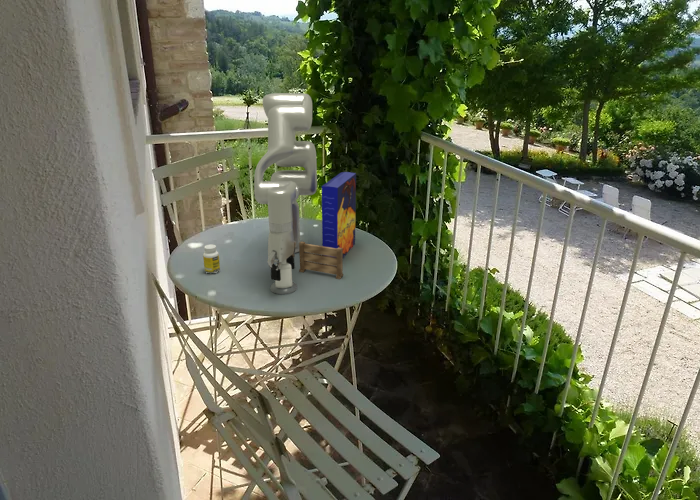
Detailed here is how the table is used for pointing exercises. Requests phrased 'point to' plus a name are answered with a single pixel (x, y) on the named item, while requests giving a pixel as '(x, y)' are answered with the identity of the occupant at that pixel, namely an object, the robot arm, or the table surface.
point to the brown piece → (321, 259)
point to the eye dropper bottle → (285, 275)
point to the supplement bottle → (211, 259)
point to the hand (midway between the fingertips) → (283, 274)
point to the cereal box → (339, 212)
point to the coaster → (283, 289)
